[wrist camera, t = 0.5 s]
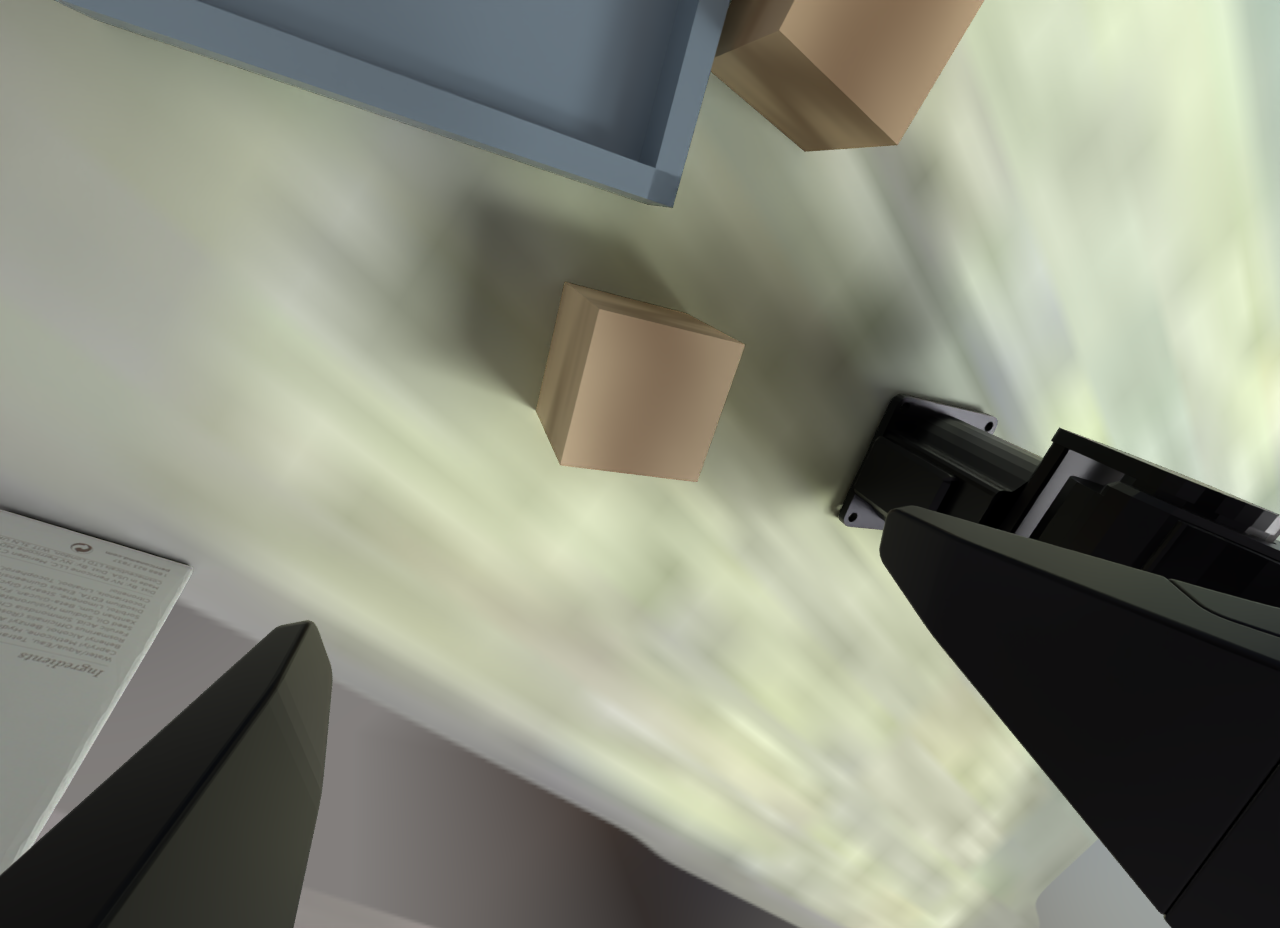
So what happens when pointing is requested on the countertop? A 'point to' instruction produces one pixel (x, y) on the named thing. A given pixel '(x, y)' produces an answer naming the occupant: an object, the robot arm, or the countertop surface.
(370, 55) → the tray
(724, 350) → the oak cube
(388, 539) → the countertop surface
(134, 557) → the small box
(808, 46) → the oak cube
